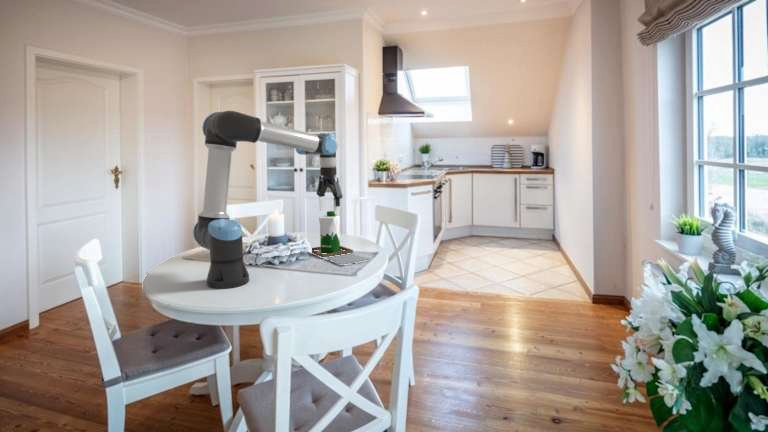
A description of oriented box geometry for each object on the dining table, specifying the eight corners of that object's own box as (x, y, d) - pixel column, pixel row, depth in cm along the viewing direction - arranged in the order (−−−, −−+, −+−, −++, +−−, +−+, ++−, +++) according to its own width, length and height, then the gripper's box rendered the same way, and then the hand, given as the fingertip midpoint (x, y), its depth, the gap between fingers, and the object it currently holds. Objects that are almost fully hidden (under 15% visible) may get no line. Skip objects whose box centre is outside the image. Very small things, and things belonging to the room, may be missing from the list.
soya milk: (342, 251, 215) (341, 211, 212) (334, 256, 207) (333, 214, 204) (325, 250, 218) (324, 210, 215) (317, 254, 209) (316, 213, 206)
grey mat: (368, 261, 197) (368, 259, 197) (342, 266, 188) (342, 264, 188) (351, 255, 208) (351, 253, 208) (325, 260, 199) (325, 257, 199)
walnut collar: (353, 254, 211) (353, 249, 210) (323, 259, 201) (323, 254, 201) (335, 248, 223) (335, 244, 223) (307, 252, 214) (307, 248, 213)
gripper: (349, 167, 198) (350, 213, 202) (322, 165, 218) (323, 207, 221) (334, 167, 194) (336, 215, 197) (308, 166, 213) (310, 209, 217)
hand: (329, 211), depth 209 cm, fingers open, 13 cm apart
